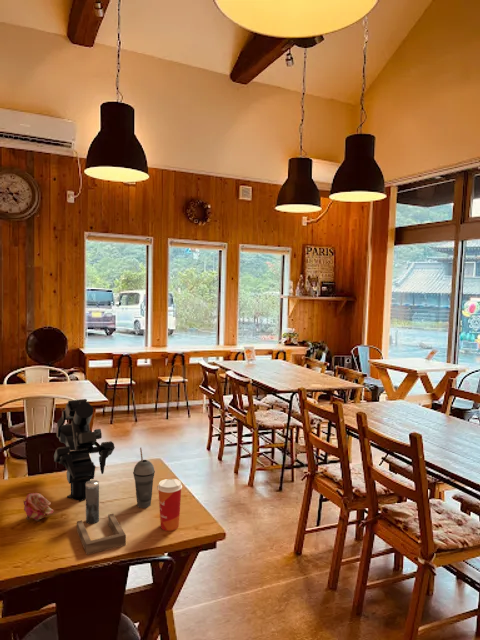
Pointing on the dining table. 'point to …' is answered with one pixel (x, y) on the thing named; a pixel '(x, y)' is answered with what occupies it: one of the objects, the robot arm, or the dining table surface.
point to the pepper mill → (92, 502)
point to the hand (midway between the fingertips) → (88, 475)
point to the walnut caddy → (105, 542)
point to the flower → (37, 506)
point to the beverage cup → (143, 482)
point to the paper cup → (169, 503)
